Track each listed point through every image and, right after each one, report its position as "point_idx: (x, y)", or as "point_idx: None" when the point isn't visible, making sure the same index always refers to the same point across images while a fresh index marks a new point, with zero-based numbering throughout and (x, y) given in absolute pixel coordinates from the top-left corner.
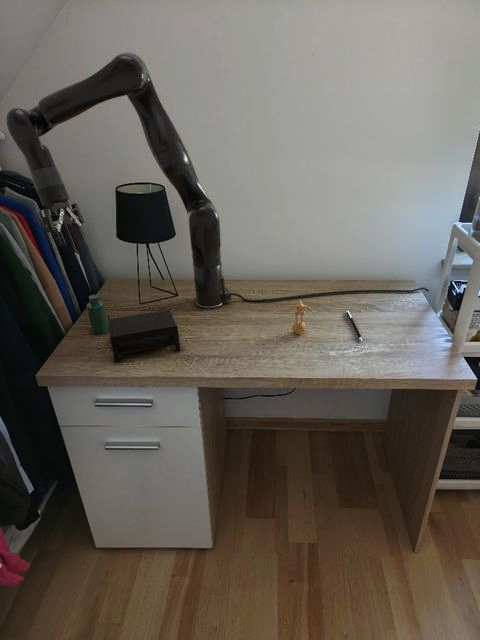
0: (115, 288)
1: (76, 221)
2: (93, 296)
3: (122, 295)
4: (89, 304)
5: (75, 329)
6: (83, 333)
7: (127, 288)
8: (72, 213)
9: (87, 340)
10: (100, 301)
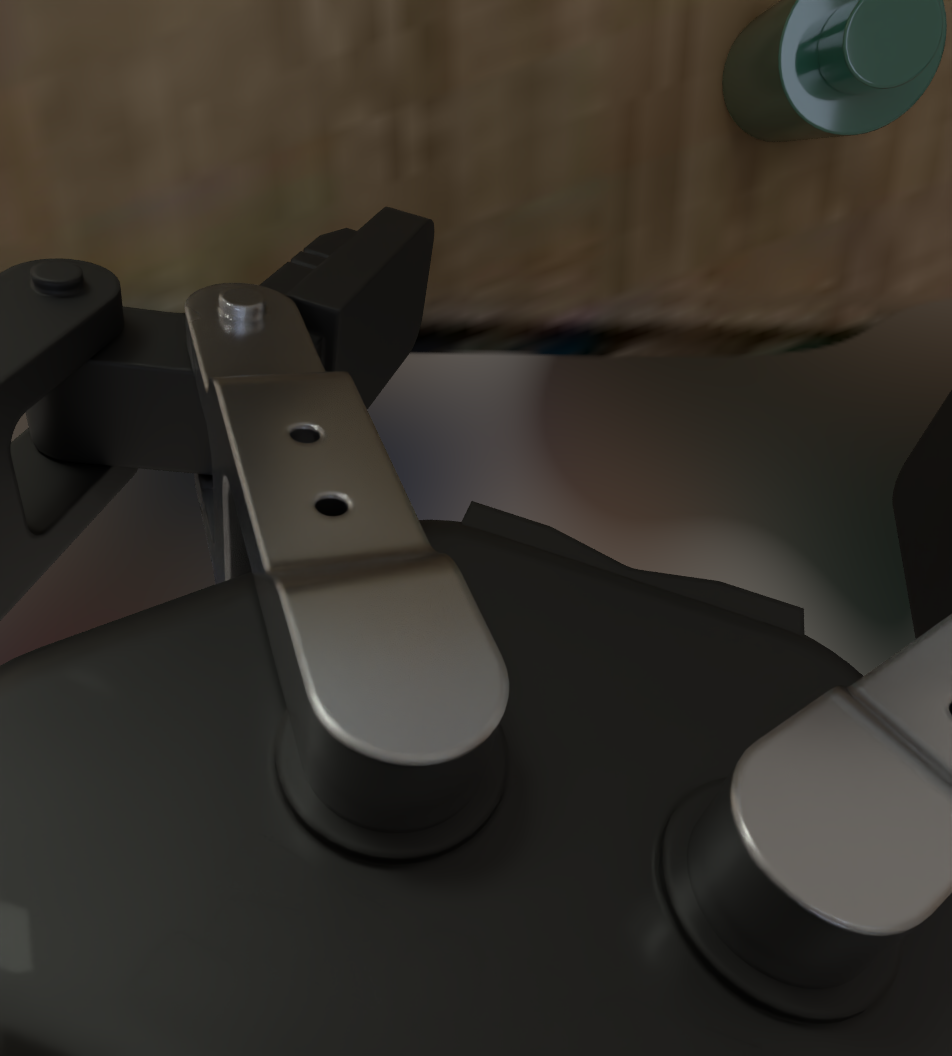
0: (60, 196)
1: (286, 372)
2: (890, 33)
3: (173, 89)
4: (856, 106)
5: (738, 288)
6: (808, 205)
7: (39, 85)
8: (268, 505)
9: (924, 135)
10: (803, 5)
